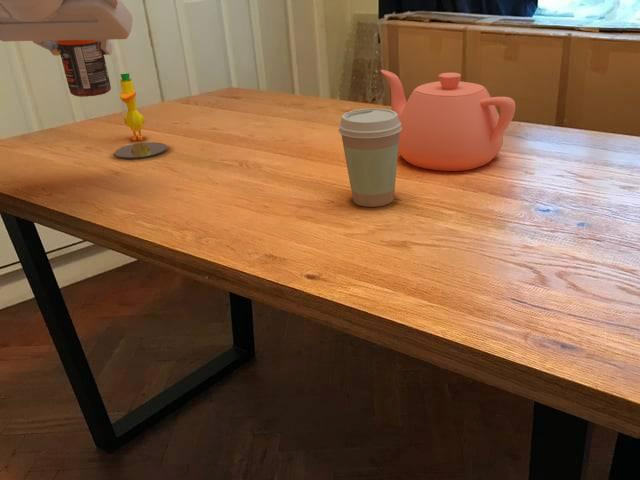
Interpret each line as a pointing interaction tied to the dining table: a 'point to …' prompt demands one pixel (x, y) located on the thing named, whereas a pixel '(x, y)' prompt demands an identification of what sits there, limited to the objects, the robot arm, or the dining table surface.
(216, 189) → the dining table surface
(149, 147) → the coaster
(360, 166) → the coffee cup
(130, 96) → the toy figure
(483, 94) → the teapot
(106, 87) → the supplement bottle
